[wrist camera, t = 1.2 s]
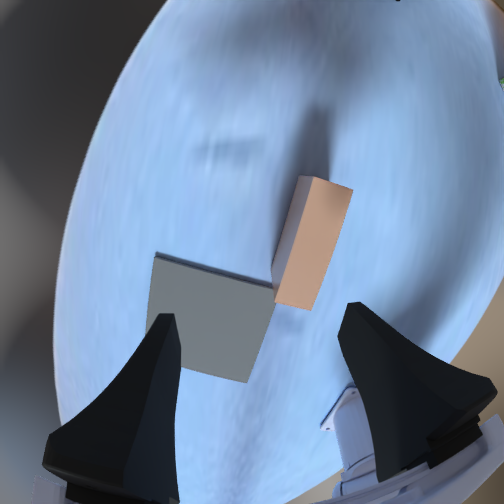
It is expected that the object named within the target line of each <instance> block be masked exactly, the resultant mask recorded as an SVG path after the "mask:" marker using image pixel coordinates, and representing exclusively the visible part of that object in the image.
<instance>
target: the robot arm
mask: <svg viewBox="0 0 504 504" xmlns="http://www.w3.org/2000/svg"><path fill="white" fill-rule="evenodd" d="M338 340H339V344H340V347H341V351H342V354H343V357H344V359H345V361H346V364H347V366H348V368H349V371H350V373H351V375H352V377H353V380H354V382H355V384H356V387H357V388H347V389H346V390H345V392H344V393H343V395H342V396H341V398H340V399H339V401H338V402H337V404H336V405H335V407H334V408H333V410H332V411H331V413H330V414H329V415H328V417H327V418H326V420H325V421H324V422H323V424H322V425H321V426H320V430H322V431H335V432H336V436H337V441H338V445H339V449H340V453H341V458H342V462H343V466H344V470H345V472H343V473H341V478H342V481H340V482H338V483H337V484H336V486H335V488H334V489H333V493H332V499H329V500H324V501H320V502H316V503H312V504H461V503H462V502H463V501H465V499H467V498H468V497H469V496H470V495H471V494H472V493H473V492H474V491H475V490H476V489H477V488H478V487H479V486H480V485H481V484H482V483H483V482H484V481H485V480H486V479H487V478H488V477H489V476H490V475H491V474H492V473H493V472H494V471H495V470H496V469H497V467H499V466H500V465H501V464H502V463H503V462H504V425H503V423H502V421H501V419H500V418H499V416H498V414H495V415H494V416H493V417H492V418H490V419H489V420H488V421H486V422H485V423H484V424H483V425H482V426H480V427H479V426H478V424H477V423H478V422H479V421H480V418H479V416H478V414H479V413H480V412H481V411H482V410H483V409H484V408H485V407H486V406H487V405H488V404H489V403H490V402H491V401H492V400H493V399H494V398H495V397H496V395H497V389H496V388H495V386H494V385H493V383H492V381H491V380H490V379H489V378H487V377H483V376H480V375H476V374H472V373H470V372H467V371H465V370H462V369H459V368H457V367H454V366H452V365H450V364H448V363H446V362H444V361H442V360H440V359H438V358H436V357H434V356H433V355H431V354H429V353H428V352H426V351H424V350H423V349H421V348H420V347H418V346H417V345H415V344H414V343H412V342H411V341H410V340H408V339H407V338H405V337H404V336H403V335H401V334H400V333H399V332H397V331H396V330H395V329H394V328H392V327H391V326H390V325H389V324H387V323H386V322H385V321H384V320H382V319H381V318H380V317H379V316H378V315H376V314H375V313H374V312H373V311H371V310H370V309H369V308H368V307H366V306H365V305H364V304H362V303H361V302H353V303H348V304H347V308H346V311H345V314H344V317H343V321H342V324H341V327H340V330H339V333H338ZM180 372H181V343H180V339H179V334H178V329H177V324H176V319H175V314H174V313H159V314H158V315H157V317H156V319H155V320H154V322H153V324H152V325H151V327H150V329H149V330H148V332H147V334H146V335H145V337H144V338H143V340H142V342H141V343H140V345H139V346H138V348H137V349H136V351H135V352H134V354H133V355H132V356H131V358H130V359H129V360H128V362H127V363H126V364H125V366H124V367H123V368H122V370H121V371H120V372H119V373H118V375H117V376H116V377H115V378H114V380H113V381H112V382H111V383H110V384H109V385H108V386H107V387H106V388H105V389H104V391H103V392H102V393H101V394H100V395H99V396H98V397H97V398H96V399H95V400H94V401H93V402H92V403H90V404H89V405H88V406H87V407H86V408H85V409H83V410H82V411H81V412H80V413H79V414H78V415H76V416H75V417H74V418H73V419H71V420H70V421H69V422H67V423H66V424H64V425H63V426H61V427H60V428H59V429H57V430H56V431H54V432H53V433H51V434H49V437H48V440H47V443H46V447H45V452H44V457H43V462H42V465H43V467H44V468H45V469H46V470H48V471H49V472H51V473H53V474H54V475H56V476H58V477H60V478H61V479H63V480H65V481H67V487H64V486H62V485H60V484H57V483H55V482H52V481H49V480H47V479H45V478H42V477H40V476H38V475H36V476H35V481H34V487H33V494H32V502H31V504H179V503H180V500H179V492H178V484H177V474H176V461H175V411H176V403H177V395H178V387H179V379H180ZM353 391H354V392H353Z"/></svg>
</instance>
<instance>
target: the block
mask: <svg viewBox="0 0 504 504" xmlns="http://www.w3.org/2000/svg"><path fill="white" fill-rule="evenodd" d="M352 193H353V190H352V189H349V188H347V187H344V186H341V185H338V184H335V183H332V182H329V181H326V180H323V179H320V178H317V177H314V176H303V175H299V177H298V181H297V184H296V187H295V191H294V194H293V198H292V201H291V205H290V208H289V211H288V215H287V218H286V221H285V225H284V228H283V231H282V235H281V238H280V241H279V245H278V248H277V251H276V254H275V258H274V261H273V264H272V267H271V277H272V286H273V295H274V302H276V303H280V304H284V305H288V306H293V307H297V308H301V309H306V310H310V311H311V310H312V307H313V305H314V302H315V300H316V297H317V295H318V292H319V290H320V287H321V284H322V282H323V279H324V276H325V274H326V271H327V268H328V265H329V263H330V260H331V257H332V254H333V251H334V249H335V246H336V243H337V240H338V237H339V234H340V231H341V228H342V225H343V222H344V219H345V216H346V212H347V209H348V206H349V203H350V199H351V196H352Z"/></svg>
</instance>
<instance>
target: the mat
mask: <svg viewBox="0 0 504 504" xmlns="http://www.w3.org/2000/svg"><path fill="white" fill-rule="evenodd" d="M275 305H276V302H274V295H273V288H272V287H268V286H264V285H260V284H256V283H252V282H248V281H244V280H241V279H237V278H233V277H229V276H226V275H222V274H218V273H214V272H211V271H207V270H203V269H200V268H196V267H193V266H189V265H185V264H182V263H178V262H175V261H171V260H168V259H164V258H161V257H157V256H155V257H154V262H153V269H152V276H151V284H150V292H149V301H148V311H147V321H146V333H145V335H146V334H147V332H148V330H149V329H150V327H151V325H152V324H153V322H154V320H155V319H156V317H157V315H158V314H159V313H174V314H175V319H176V324H177V329H178V334H179V339H180V343H181V367H183V368H187V369H190V370H194V371H197V372H201V373H205V374H209V375H213V376H217V377H221V378H225V379H229V380H234V381H238V382H243V383H247V382H248V379H249V377H250V374H251V371H252V369H253V366H254V363H255V361H256V358H257V355H258V353H259V350H260V347H261V344H262V342H263V339H264V336H265V333H266V331H267V328H268V325H269V322H270V319H271V317H272V314H273V311H274V308H275Z"/></svg>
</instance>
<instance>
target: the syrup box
mask: <svg viewBox="0 0 504 504" xmlns="http://www.w3.org/2000/svg"><path fill="white" fill-rule="evenodd" d="M500 84H501V86H502V88H503V90H504V78H502V79H501V80H500Z"/></svg>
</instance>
